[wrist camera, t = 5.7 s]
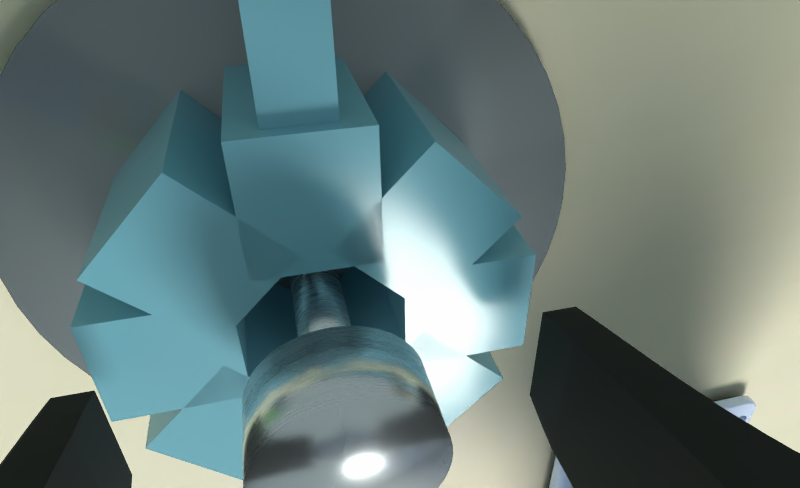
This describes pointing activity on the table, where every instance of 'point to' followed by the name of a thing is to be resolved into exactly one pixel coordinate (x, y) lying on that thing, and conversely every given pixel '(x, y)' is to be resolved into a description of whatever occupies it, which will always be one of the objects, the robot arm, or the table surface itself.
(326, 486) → the plunger
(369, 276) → the blue block ring base
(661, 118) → the table surface
